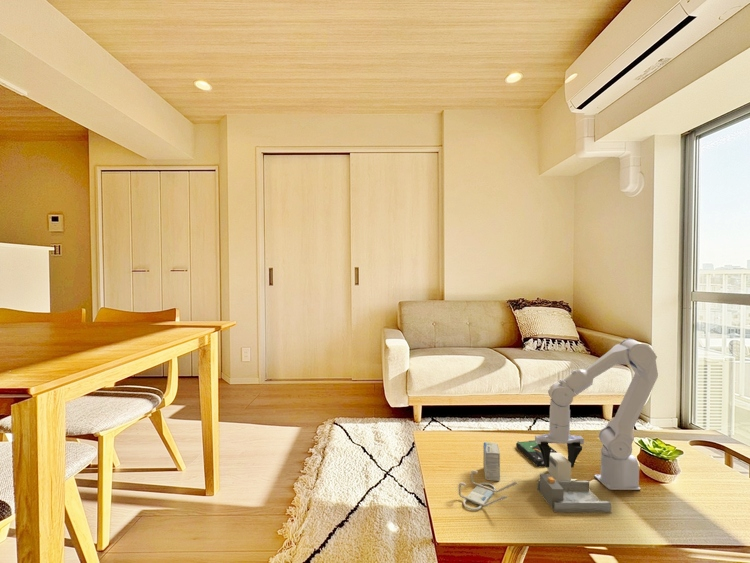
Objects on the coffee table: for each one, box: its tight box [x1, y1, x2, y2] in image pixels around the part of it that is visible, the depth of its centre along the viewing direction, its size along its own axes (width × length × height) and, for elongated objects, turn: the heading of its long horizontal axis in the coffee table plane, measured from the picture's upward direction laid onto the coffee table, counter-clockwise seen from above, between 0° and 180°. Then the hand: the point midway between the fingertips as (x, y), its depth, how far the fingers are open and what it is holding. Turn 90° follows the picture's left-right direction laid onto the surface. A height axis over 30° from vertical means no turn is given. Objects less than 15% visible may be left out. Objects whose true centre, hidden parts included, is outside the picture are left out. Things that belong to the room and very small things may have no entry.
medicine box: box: [482, 441, 501, 482], centre depth 122 cm, size 8×4×9 cm, turn 168°
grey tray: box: [536, 480, 612, 514], centre depth 109 cm, size 15×11×3 cm
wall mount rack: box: [458, 469, 518, 511], centre depth 109 cm, size 16×14×6 cm
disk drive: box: [515, 440, 559, 468], centre depth 136 cm, size 10×3×15 cm
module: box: [546, 452, 572, 481], centre depth 122 cm, size 4×7×6 cm, turn 0°
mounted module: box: [539, 473, 564, 507], centre depth 109 cm, size 3×8×6 cm, turn 0°
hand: (558, 465), depth 122 cm, fingers open, 7 cm apart
